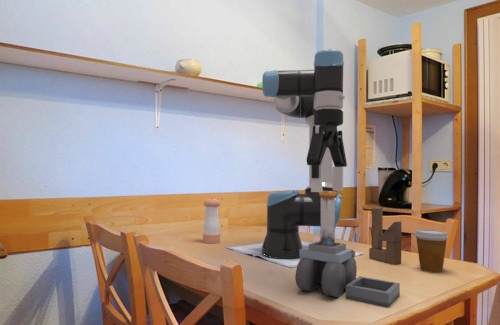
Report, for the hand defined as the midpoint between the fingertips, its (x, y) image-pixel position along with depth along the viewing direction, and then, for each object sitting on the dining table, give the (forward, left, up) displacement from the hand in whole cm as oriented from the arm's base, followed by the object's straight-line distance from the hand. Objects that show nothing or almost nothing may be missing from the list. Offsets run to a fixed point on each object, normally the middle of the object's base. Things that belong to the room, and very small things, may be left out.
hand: (327, 191), depth 97 cm
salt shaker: (-66, +30, -25) cm, 77 cm away
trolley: (-1, 0, -25) cm, 25 cm away
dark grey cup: (0, +9, -25) cm, 27 cm away
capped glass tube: (0, 0, -15) cm, 15 cm away
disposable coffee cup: (+18, +38, -25) cm, 49 cm away
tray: (+11, +1, -25) cm, 28 cm away
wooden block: (+3, +41, -25) cm, 49 cm away
